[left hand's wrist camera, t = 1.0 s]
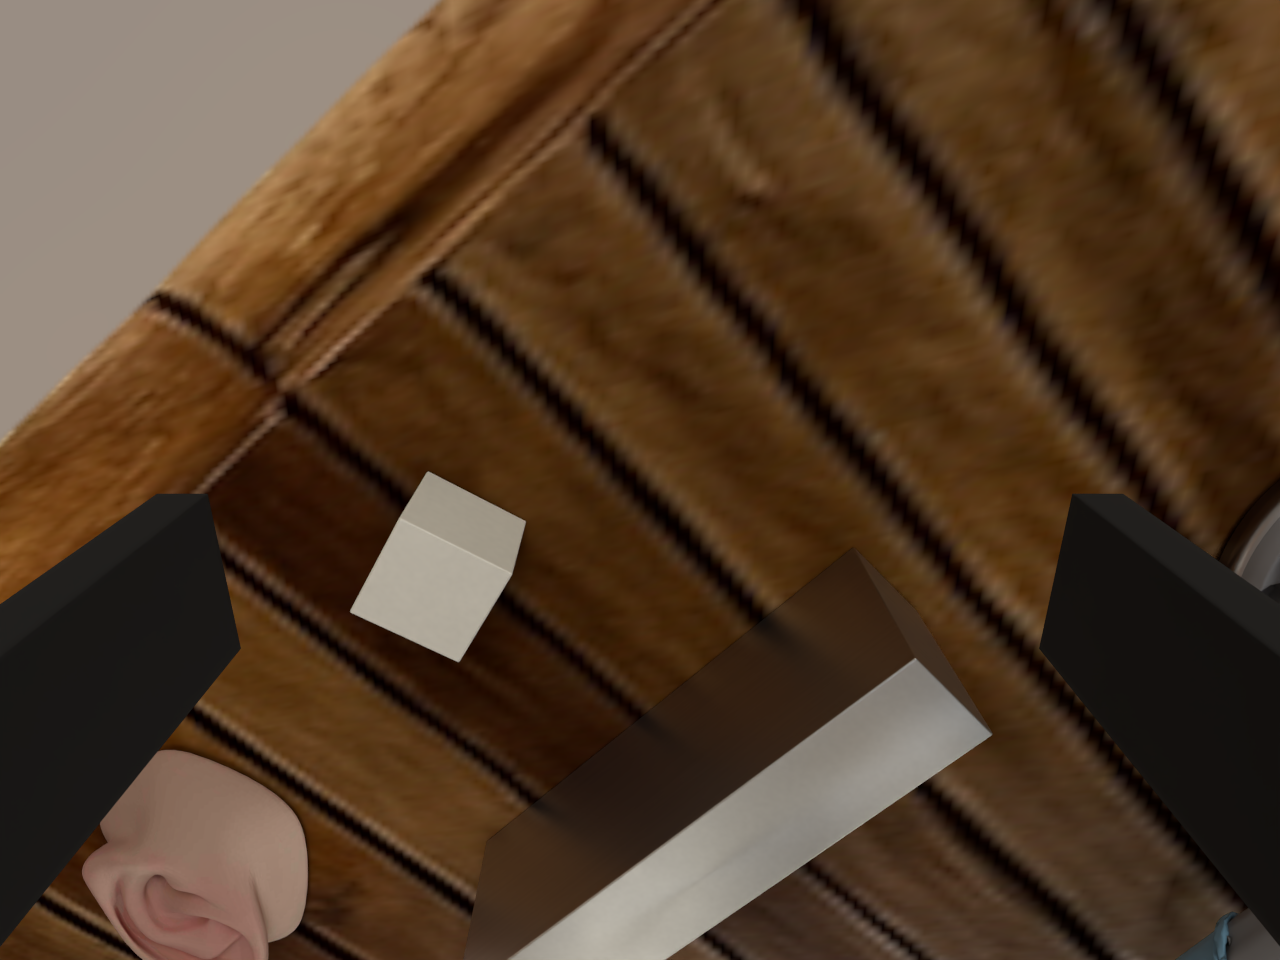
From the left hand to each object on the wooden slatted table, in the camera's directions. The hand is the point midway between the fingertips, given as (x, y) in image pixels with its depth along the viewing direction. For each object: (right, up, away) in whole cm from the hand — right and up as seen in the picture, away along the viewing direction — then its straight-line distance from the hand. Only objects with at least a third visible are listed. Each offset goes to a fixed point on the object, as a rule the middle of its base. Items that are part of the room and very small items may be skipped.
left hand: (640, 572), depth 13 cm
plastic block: (-9, -1, +25) cm, 27 cm away
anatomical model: (-24, -19, +32) cm, 44 cm away
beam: (+2, -12, +30) cm, 32 cm away
